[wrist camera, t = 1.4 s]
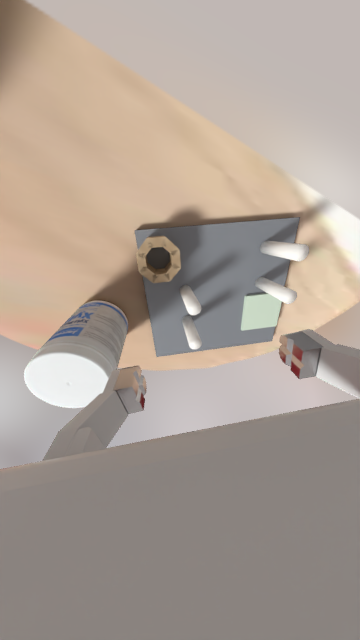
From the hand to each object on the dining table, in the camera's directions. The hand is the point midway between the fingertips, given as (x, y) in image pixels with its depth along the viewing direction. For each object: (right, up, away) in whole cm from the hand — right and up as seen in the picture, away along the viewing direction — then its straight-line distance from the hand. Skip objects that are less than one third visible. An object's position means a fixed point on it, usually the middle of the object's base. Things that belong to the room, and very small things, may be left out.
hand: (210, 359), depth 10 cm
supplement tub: (-16, +2, +23) cm, 28 cm away
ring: (-5, +12, +17) cm, 22 cm away
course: (+5, +7, +23) cm, 25 cm away
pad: (+14, +4, +25) cm, 29 cm away
